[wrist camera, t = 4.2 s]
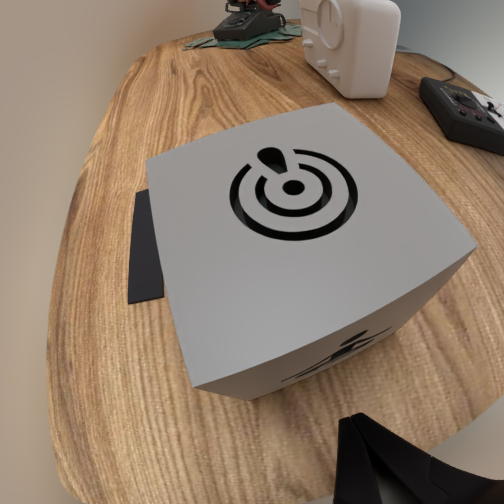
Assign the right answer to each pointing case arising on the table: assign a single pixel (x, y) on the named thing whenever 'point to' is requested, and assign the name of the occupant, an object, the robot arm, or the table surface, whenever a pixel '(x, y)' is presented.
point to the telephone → (250, 25)
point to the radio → (351, 43)
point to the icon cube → (294, 247)
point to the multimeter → (465, 114)
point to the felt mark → (144, 254)
